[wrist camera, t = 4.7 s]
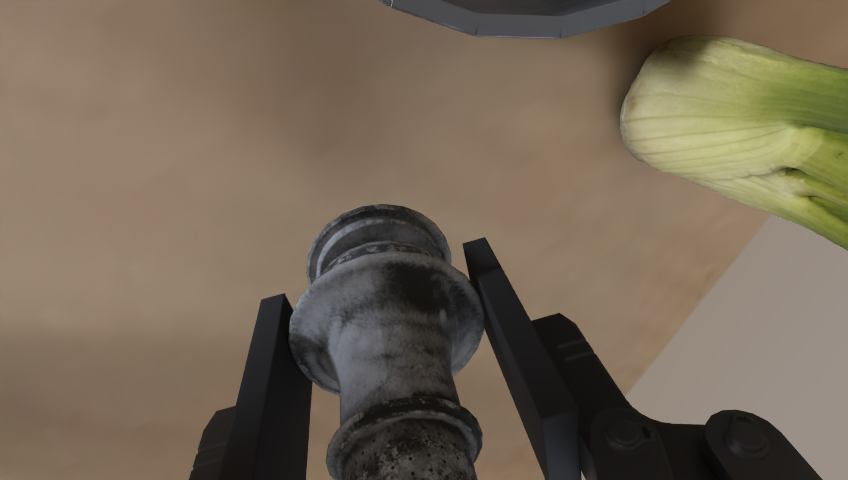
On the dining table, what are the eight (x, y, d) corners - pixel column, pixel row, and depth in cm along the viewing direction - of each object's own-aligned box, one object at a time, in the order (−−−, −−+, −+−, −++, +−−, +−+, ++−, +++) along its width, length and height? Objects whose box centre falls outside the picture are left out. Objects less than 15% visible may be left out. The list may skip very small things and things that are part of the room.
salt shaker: (326, 344, 18) (309, 845, 7) (272, 219, 14) (116, 796, 4) (468, 307, 18) (636, 747, 8) (445, 177, 15) (680, 631, 5)
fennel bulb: (622, 26, 17) (1019, 100, 7) (736, 18, 18) (1261, 78, 8) (597, 165, 20) (849, 358, 10) (696, 155, 21) (1032, 330, 11)
